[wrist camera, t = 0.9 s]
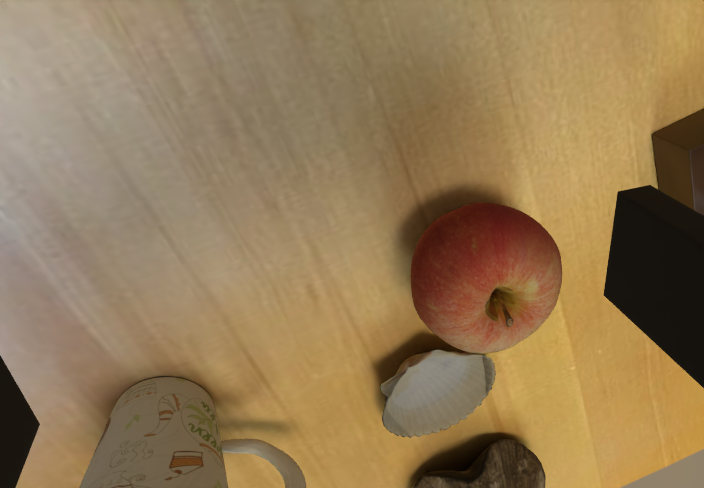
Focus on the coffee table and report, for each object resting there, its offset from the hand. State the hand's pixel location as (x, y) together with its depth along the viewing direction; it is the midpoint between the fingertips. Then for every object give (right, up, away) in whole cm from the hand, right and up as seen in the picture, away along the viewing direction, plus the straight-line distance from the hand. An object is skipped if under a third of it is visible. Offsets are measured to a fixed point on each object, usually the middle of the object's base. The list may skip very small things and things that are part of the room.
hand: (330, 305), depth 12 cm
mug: (-9, -9, +23) cm, 27 cm away
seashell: (+6, -7, +26) cm, 27 cm away
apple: (+7, +1, +21) cm, 22 cm away
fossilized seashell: (+10, -16, +31) cm, 37 cm away
